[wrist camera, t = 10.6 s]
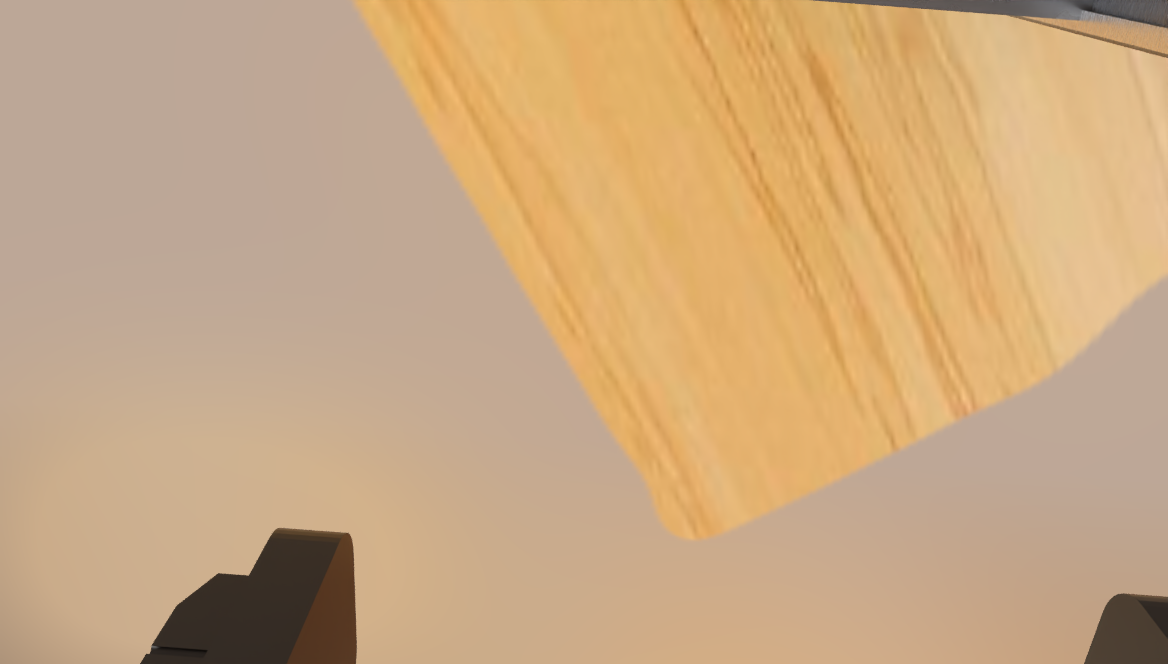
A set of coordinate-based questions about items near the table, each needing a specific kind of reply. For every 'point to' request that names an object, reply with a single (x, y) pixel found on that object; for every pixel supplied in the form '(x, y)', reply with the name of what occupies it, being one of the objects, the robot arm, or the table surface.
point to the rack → (1070, 17)
